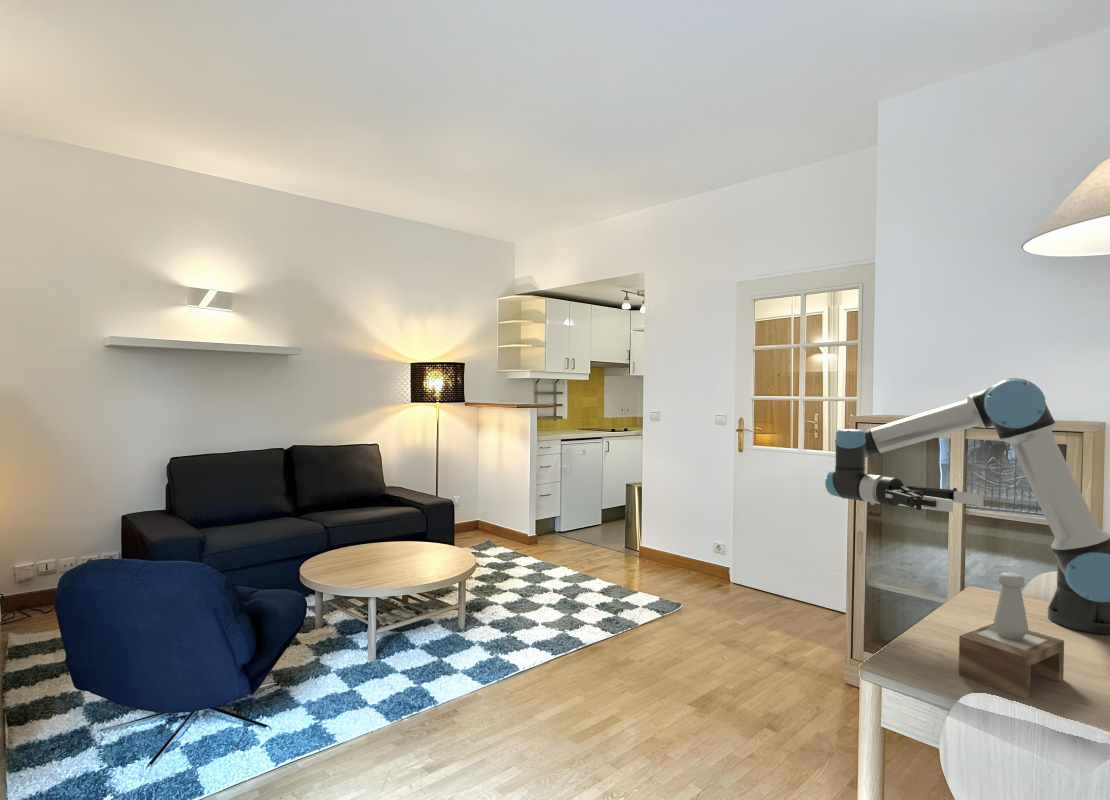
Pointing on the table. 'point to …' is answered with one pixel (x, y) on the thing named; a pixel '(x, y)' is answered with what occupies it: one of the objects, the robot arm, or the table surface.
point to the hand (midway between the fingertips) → (968, 503)
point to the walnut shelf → (1009, 659)
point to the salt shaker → (1011, 608)
